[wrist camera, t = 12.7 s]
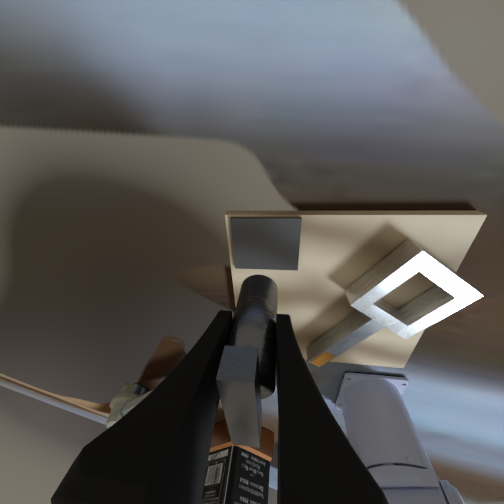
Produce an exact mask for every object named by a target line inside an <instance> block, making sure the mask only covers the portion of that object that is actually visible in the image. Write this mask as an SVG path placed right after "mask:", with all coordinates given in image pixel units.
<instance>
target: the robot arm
mask: <svg viewBox="0 0 504 504" xmlns="http://www.w3.org/2000/svg"><path fill="white" fill-rule="evenodd" d="M232 321H233V319H232V312H231V311H223V310H220V311H219V312H218V314H217V315H216V317H215V318H214V320H213V321H212V323H211V324H210V325H209V327H208V328H207V330H206V331H205V332H204V334H203V335H202V336H201V338H200V339H199V340H198V342H197V343H196V344H195V346H194V347H193V348H192V349H191V350H190V351H189V353H188V354H187V355H186V356H185V357H184V359H183V360H182V361H181V362H180V363H179V364H178V365H177V367H176V368H175V369H174V370H173V371H172V372H171V373H170V374H169V375H168V376H167V377H166V378H165V379H164V380H163V381H162V382H161V383H160V384H159V385H158V386H157V387H156V388H155V389H154V390H153V391H152V392H151V393H150V394H148V395H147V396H146V397H145V398H144V399H143V400H142V401H141V402H140V403H138V404H137V405H136V406H135V407H134V408H133V409H131V410H130V411H129V412H128V413H127V414H126V415H124V416H123V417H122V418H121V419H120V420H118V421H117V422H116V423H115V424H113V425H112V426H111V427H109V428H108V429H107V430H106V431H105V432H103V433H102V434H100V435H99V436H98V437H96V438H95V439H94V440H93V441H91V442H90V443H89V444H87V445H86V446H85V447H84V448H83V449H82V451H81V452H80V454H79V455H78V456H77V458H76V459H75V461H74V462H73V464H72V465H71V467H70V469H69V471H68V472H67V474H66V475H65V477H64V479H63V480H62V482H61V483H60V485H59V487H58V489H57V490H56V491H55V493H54V495H53V496H52V498H51V503H52V504H201V501H202V495H203V488H204V482H205V476H206V470H207V463H208V457H209V452H210V446H211V440H212V435H213V429H214V424H215V418H216V413H217V408H218V404H219V400H220V394H219V390H218V386H217V382H216V377H217V373H218V370H219V366H220V362H221V358H222V354H223V350H224V347H225V346H226V344H227V340H228V336H229V332H230V329H231V325H232ZM276 376H277V393H278V415H279V422H278V491H277V492H278V494H277V504H465V503H464V501H463V499H462V497H461V495H460V493H459V492H458V490H457V489H456V488H455V487H453V486H452V485H450V483H449V482H448V481H446V480H441V481H440V480H439V478H438V477H437V475H436V474H435V472H434V470H433V467H432V465H431V463H430V461H429V458H428V456H427V454H426V451H425V449H424V447H423V445H422V442H421V440H420V438H419V436H418V433H417V431H416V429H415V426H414V424H413V422H412V420H411V417H410V415H409V413H408V410H407V408H406V406H405V404H404V401H403V399H402V397H401V395H402V394H403V392H404V390H405V389H406V387H407V385H408V384H409V380H408V378H404V377H393V376H382V375H371V374H360V373H345V375H344V378H343V381H342V384H341V388H340V391H339V394H338V397H337V400H336V404H335V407H336V409H341V410H342V411H343V415H344V420H345V425H346V429H347V434H348V439H349V441H348V439H347V438H346V436H345V434H344V433H343V431H342V430H341V428H340V426H339V425H338V423H337V421H336V420H335V418H334V416H333V415H332V413H331V411H330V410H329V408H328V406H327V404H326V403H325V401H324V399H323V397H322V395H321V393H320V392H319V390H318V388H317V386H316V384H315V382H314V380H313V378H312V376H311V374H310V371H309V369H308V367H307V365H306V363H305V360H304V358H303V356H302V353H301V350H300V348H299V345H298V343H297V340H296V337H295V334H294V330H293V327H292V323H291V317H290V315H289V314H276Z"/></svg>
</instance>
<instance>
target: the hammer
mask: <svg viewBox="0 0 504 504" xmlns="http://www.w3.org/2000/svg"><path fill="white" fill-rule="evenodd" d="M277 300H278V288H277V285H276V283H275V282H274V281H273V280H272V279H271V278H269V277H267V276H264V275H252V276H249V277H247V278H246V279H245V280H244V281H243V283H242V285H241V289H240V293H239V297H238V301H237V305H236V309H235V313H234V317H233V321H232V325H231V329H230V332H229V336H228V340H227V344H226V346H225V347H224V350H223V354H222V358H221V362H220V366H219V370H218V373H217V377H216V382H217V386H218V390H219V394H220V398H221V402H222V406H223V410H224V414H225V418H226V422H227V426H228V430H229V434H230V438H231V442H232V444H235V445H242V446H249V447H256V448H260V438H261V424H262V404H261V399H264V398H267V397H269V396H271V395H272V394H273V393H274V391H275V373H276V314H277Z"/></svg>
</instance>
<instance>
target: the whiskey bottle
mask: <svg viewBox="0 0 504 504" xmlns="http://www.w3.org/2000/svg"><path fill="white" fill-rule="evenodd" d="M273 444H274V433H272V432H270V431H268V430H266V429H264V428H263V427H261V438H260V448H256V447H249V446H242V445H235V444H232V442H231V438H230V434H229V430H228V426H227V422H226V420H225V421H223V422H221V423H218V424H216V425H214V429H213V435H212V440H211V446H210V452H209V457H208V463H207V470H206V476H205V482H204V488H203V495H202V501H201V504H268V487H269V469H270V463H271V462H272V460H273Z"/></svg>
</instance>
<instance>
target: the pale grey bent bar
mask: <svg viewBox="0 0 504 504" xmlns="http://www.w3.org/2000/svg"><path fill="white" fill-rule="evenodd" d="M153 390H154V389H153ZM153 390H152V391H153ZM152 391H150V392H147V390H146V389H145V388H144V387H142V386H140V385H137V384H136V383H134V385H129V384H125V385H123V386H122V387H121V389H120V391H119V393H118V395H116V396H115V397H113V399H112V401H111V403H110V405H109V406H110V408H111V409H112V411H111V413H110V415H109V417H108V420H107V424H106V426H107V428H109V427H111V426H112V425H113V424H115V423H116V422H117V421H118V420H120V419H121V418H122V417H123V416H124V415H126V414H127V413H128V412H129V411H130V410H131V409H133V408H134V407H135V406H136V405H137V404H138V403H140V402H141V401H142V400H143V399H144V398H145V397H146V396H147V395H148V394H150V393H151V392H152Z"/></svg>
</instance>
